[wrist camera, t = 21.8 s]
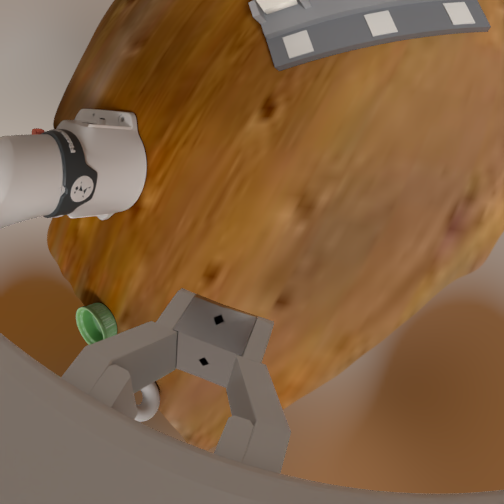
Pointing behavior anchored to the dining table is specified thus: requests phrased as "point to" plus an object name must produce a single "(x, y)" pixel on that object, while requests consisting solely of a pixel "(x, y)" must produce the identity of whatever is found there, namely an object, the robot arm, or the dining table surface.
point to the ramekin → (95, 323)
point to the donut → (148, 403)
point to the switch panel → (359, 25)
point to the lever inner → (275, 5)
